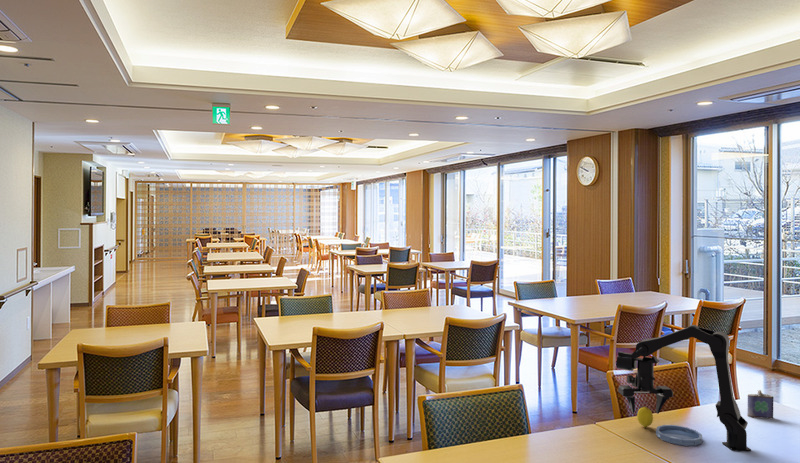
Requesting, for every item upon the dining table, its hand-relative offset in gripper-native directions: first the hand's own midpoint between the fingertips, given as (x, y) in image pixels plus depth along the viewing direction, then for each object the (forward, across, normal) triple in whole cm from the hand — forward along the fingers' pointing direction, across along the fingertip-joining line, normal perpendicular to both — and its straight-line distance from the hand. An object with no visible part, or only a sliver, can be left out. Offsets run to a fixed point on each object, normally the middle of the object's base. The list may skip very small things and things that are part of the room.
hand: (645, 413), depth 203 cm
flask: (+6, -52, -14) cm, 54 cm away
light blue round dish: (+5, -8, +10) cm, 14 cm away
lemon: (+6, 0, 0) cm, 6 cm away
